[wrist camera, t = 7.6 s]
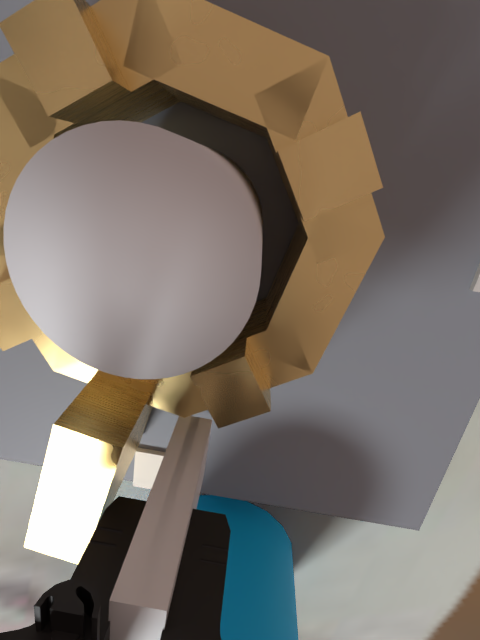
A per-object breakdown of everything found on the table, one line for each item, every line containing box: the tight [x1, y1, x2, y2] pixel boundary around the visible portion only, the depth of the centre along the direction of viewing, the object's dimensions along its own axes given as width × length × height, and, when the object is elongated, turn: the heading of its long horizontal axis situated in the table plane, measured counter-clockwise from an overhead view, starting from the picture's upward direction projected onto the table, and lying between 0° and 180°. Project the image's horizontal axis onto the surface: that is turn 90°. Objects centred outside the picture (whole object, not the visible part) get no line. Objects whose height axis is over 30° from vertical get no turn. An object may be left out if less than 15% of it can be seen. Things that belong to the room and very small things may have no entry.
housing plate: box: [0, 0, 480, 530], centre depth 11 cm, size 24×24×8 cm
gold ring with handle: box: [0, 0, 385, 564], centre depth 11 cm, size 15×10×6 cm
